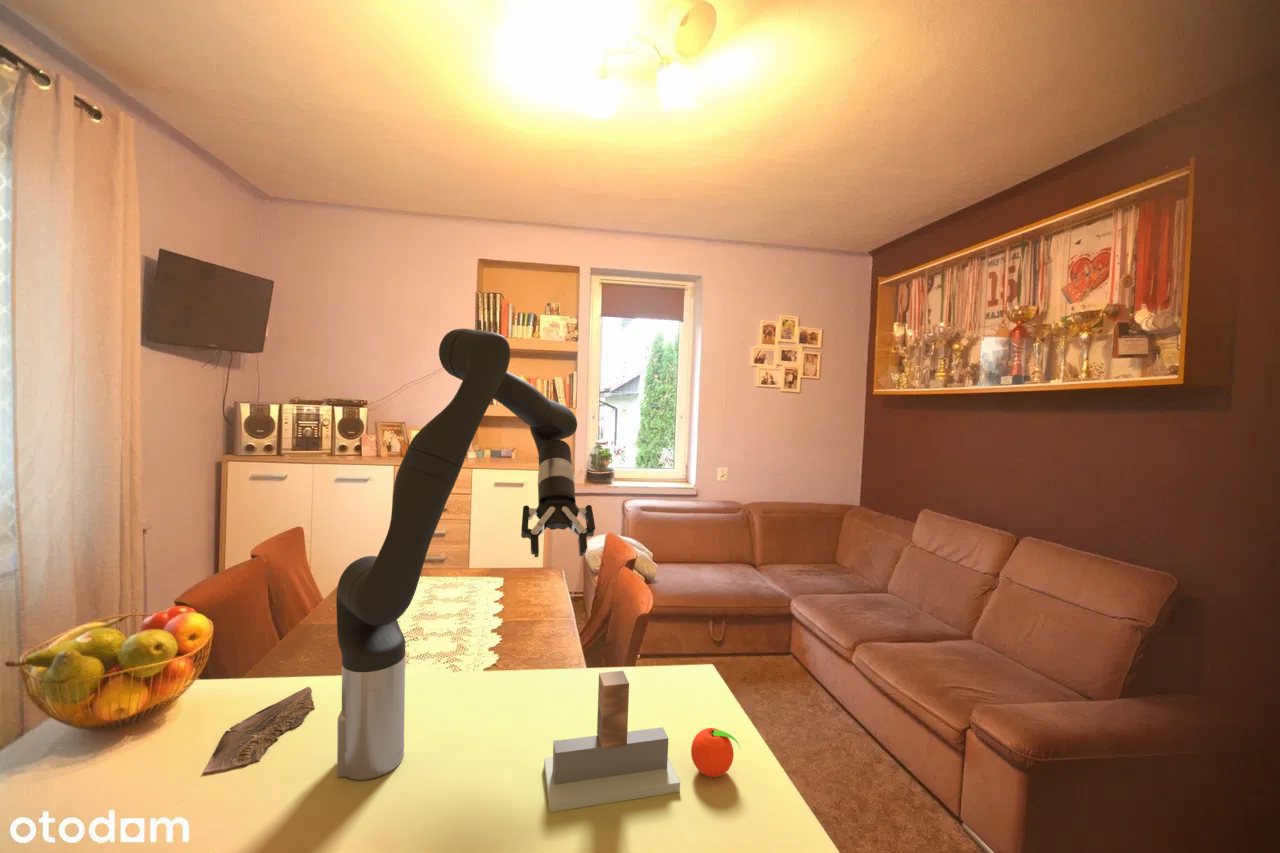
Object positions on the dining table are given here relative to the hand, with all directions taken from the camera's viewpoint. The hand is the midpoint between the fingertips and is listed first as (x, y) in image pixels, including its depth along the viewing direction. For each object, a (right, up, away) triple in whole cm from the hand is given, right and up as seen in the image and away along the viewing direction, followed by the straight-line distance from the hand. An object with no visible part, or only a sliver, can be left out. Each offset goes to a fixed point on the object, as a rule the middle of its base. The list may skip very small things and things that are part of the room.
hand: (559, 554), depth 104 cm
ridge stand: (+11, -32, -17) cm, 37 cm away
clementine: (+27, -33, -14) cm, 45 cm away
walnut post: (+11, -25, -17) cm, 32 cm away
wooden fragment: (-51, -30, -6) cm, 59 cm away
